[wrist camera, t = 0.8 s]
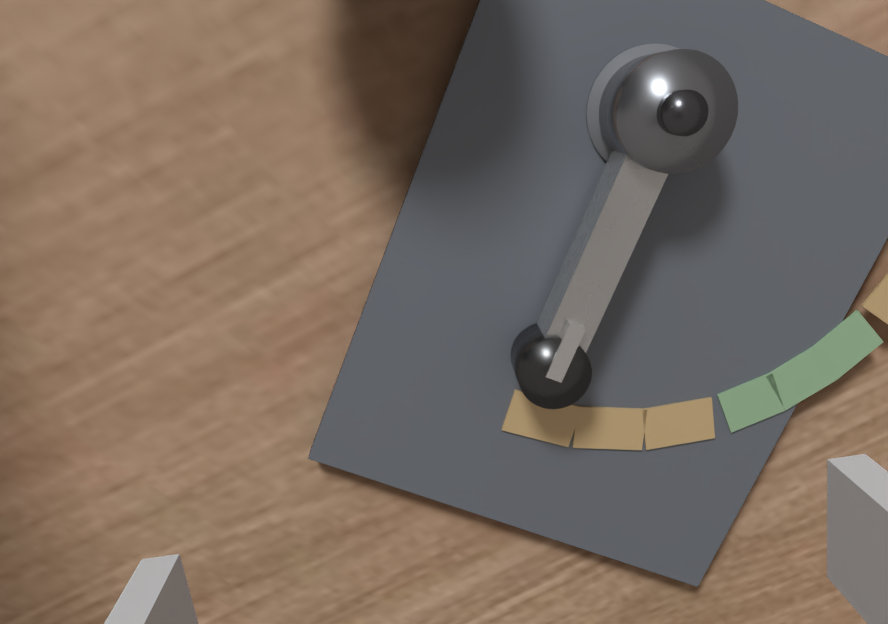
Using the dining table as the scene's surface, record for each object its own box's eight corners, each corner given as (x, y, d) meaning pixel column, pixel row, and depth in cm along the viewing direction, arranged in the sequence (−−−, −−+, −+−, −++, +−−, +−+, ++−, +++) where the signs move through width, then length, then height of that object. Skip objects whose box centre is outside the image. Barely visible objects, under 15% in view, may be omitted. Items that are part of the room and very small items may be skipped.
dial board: (311, 446, 36) (307, 460, 34) (517, -102, 30) (522, -111, 28) (740, 589, 39) (752, 606, 37) (1004, 118, 33) (1030, 119, 31)
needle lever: (626, 35, 30) (657, 27, 26) (726, 79, 30) (769, 76, 27) (485, 368, 33) (494, 401, 29) (576, 401, 34) (596, 437, 30)
